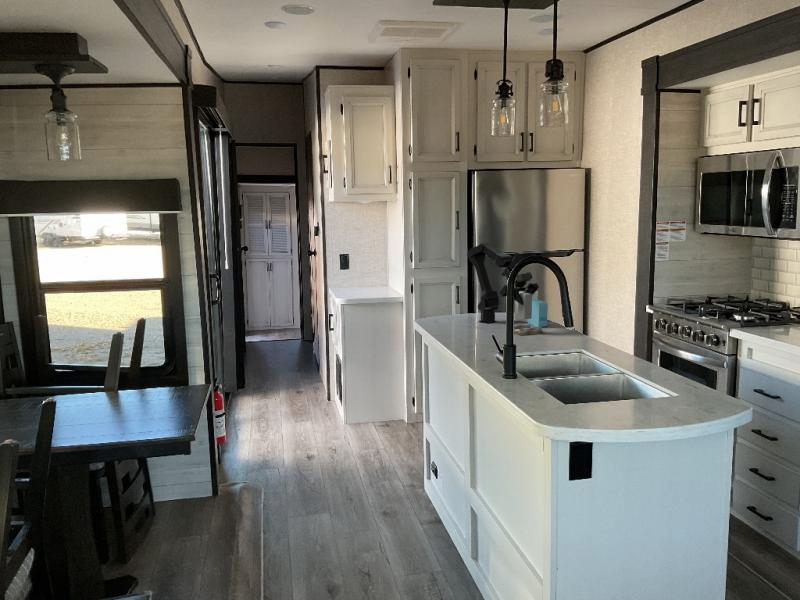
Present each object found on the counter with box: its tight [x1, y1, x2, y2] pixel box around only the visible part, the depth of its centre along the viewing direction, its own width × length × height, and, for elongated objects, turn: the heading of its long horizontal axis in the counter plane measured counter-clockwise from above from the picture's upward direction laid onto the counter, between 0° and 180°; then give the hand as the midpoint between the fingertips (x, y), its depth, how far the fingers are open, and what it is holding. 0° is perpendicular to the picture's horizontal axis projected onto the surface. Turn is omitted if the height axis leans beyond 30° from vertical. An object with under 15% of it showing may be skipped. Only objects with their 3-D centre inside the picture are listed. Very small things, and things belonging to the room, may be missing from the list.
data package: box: [527, 299, 548, 328], centre depth 324 cm, size 12×4×12 cm, turn 15°
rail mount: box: [513, 323, 544, 336], centre depth 307 cm, size 13×10×3 cm
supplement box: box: [514, 290, 539, 323], centre depth 337 cm, size 9×9×15 cm
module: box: [518, 293, 532, 319], centre depth 305 cm, size 4×5×11 cm
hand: (526, 304), depth 304 cm, fingers closed on module, 4 cm apart
